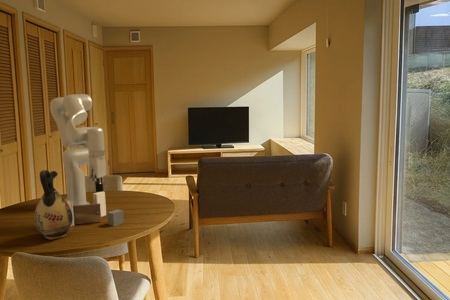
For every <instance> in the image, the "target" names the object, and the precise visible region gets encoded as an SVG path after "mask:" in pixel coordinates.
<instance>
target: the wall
mask: <svg viewBox="0 0 450 300" xmlns="http://www.w3.org/2000/svg"><path fill="white" fill-rule="evenodd" d="M92 197H93V198H92V199H93V204H98V203H100V211H101V218H102V217H104V216H107V206H106V204H107V203H106V202H107V201H106V192H105V191H104V190H103V191H102V192H95V193H92ZM66 202H67V203H68V205H69V207H70V209H71V212H72V215H73V221H72V224H71V227H74V226H75V224H74V214H73V201H71V200H68V201H66Z"/></svg>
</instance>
